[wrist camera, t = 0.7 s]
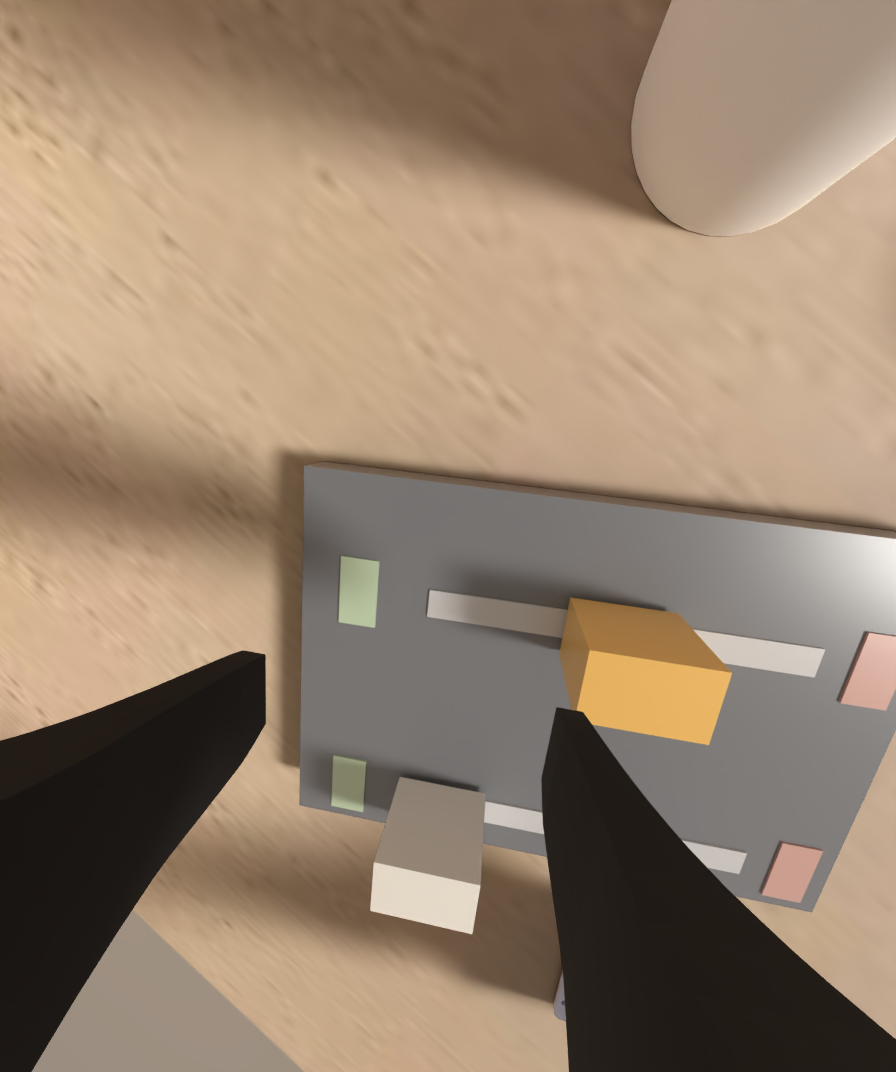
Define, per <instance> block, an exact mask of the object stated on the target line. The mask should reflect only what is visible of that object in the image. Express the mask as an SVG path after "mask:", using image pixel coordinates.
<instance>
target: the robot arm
mask: <svg viewBox="0 0 896 1072" xmlns="http://www.w3.org/2000/svg"><path fill="white" fill-rule="evenodd" d="M265 724H266V674H265V654H260V653H254V652H248V651H240V652H237V653H234V654H231V655H229V656H226V657H224V658H221V659H219V660H216V661H214V662H212V663H209V664H207V665H204V666H202V667H200V668H197V669H195V670H193V671H191V672H188V673H186V674H184V675H181V676H179V677H176V678H174V679H172V680H169V681H167V682H165V683H162V684H160V685H158V686H155V687H153V688H151V689H148V690H146V691H143V692H140V693H138V694H135V695H133V696H130V697H128V698H125V699H123V700H120V701H118V702H115V703H113V704H110V705H107V706H105V707H102V708H100V709H97V710H94V711H92V712H89V713H86V714H83V715H81V716H78V717H75V718H72V719H69V720H66V721H63V722H60V723H57V724H54V725H51V726H48V727H45V728H42V729H39V730H35V731H32V732H29V733H26V734H23V735H19V736H16V737H12V738H9V739H5V740H1V741H0V1072H31V1071H32V1070H33V1068H34V1067H35V1065H36V1063H37V1062H38V1060H39V1058H40V1057H41V1055H42V1053H43V1052H44V1050H45V1048H46V1047H47V1045H48V1043H49V1042H50V1040H51V1038H52V1037H53V1035H54V1033H55V1032H56V1030H57V1028H58V1027H59V1025H60V1023H61V1022H62V1020H63V1018H64V1017H65V1015H66V1013H67V1011H68V1010H69V1008H70V1007H71V1005H72V1003H73V1002H74V1000H75V999H76V997H77V995H78V994H79V992H80V990H81V989H82V987H83V986H84V984H85V982H86V981H87V979H88V978H89V976H90V975H91V973H92V972H93V970H94V968H95V967H96V965H97V964H98V962H99V961H100V959H101V957H102V956H103V954H104V952H105V951H106V949H107V948H108V946H109V945H110V943H111V942H112V940H113V938H114V937H115V935H116V934H117V932H118V931H119V929H120V928H121V926H122V925H123V923H124V922H125V920H126V919H127V917H128V916H129V914H130V912H131V911H132V909H133V908H134V906H135V905H136V903H137V902H138V900H139V899H140V897H141V896H142V894H143V893H144V891H145V890H146V888H147V887H148V885H149V884H150V882H151V881H152V879H153V878H154V876H155V875H156V874H157V872H158V871H159V870H160V868H161V867H162V866H163V864H164V863H165V861H166V860H167V859H168V857H169V856H170V855H171V853H172V852H173V851H174V850H175V848H176V847H177V846H178V844H179V843H180V842H181V841H182V839H183V838H184V837H185V836H186V834H187V833H188V832H189V830H190V829H191V828H192V827H193V825H194V824H195V823H196V822H197V820H198V819H199V818H200V816H201V815H202V814H203V813H204V811H205V810H206V809H207V807H208V806H209V805H210V804H211V802H212V801H213V800H214V799H215V797H216V796H217V795H218V793H219V792H220V791H221V790H222V788H223V787H224V786H225V784H226V783H227V782H228V781H229V779H230V778H231V777H232V775H233V774H234V773H235V771H236V770H237V769H238V767H239V766H240V765H241V763H242V762H243V761H244V759H245V757H246V756H247V754H248V753H249V751H250V749H251V748H252V746H253V745H254V743H255V741H256V739H257V738H258V736H259V734H260V732H261V731H262V729H263V727H264V726H265ZM541 784H542V816H543V830H544V837H545V845H546V852H547V859H548V866H549V873H550V881H551V888H552V895H553V902H554V909H555V916H556V923H557V930H558V937H559V944H560V952H561V962H562V974H561V978H560V982H559V986H558V990H557V994H556V998H555V1001H554V1014H555V1016H556V1017H557V1018H558V1019H560V1020H563V1021H566V1028H567V1044H568V1061H569V1072H896V1039H895V1038H893V1037H892V1036H891V1035H890V1034H889V1033H887V1032H886V1031H885V1030H884V1029H883V1028H881V1027H880V1026H879V1025H878V1024H877V1023H875V1022H874V1021H873V1020H872V1019H871V1018H870V1017H868V1016H867V1015H866V1014H865V1013H864V1012H863V1011H861V1010H860V1009H859V1008H858V1007H857V1006H855V1005H854V1004H853V1003H852V1002H851V1001H850V1000H848V999H847V998H846V997H845V996H844V995H843V994H841V993H840V992H839V991H838V990H837V989H835V988H834V987H833V986H832V985H831V984H830V983H828V982H827V981H826V980H825V979H824V978H823V977H822V976H820V975H819V974H818V973H817V972H816V971H815V970H814V969H813V968H811V967H810V966H809V965H808V964H807V963H806V962H805V961H804V960H802V959H801V958H800V957H799V956H798V955H797V954H796V953H795V952H793V951H792V950H791V949H790V948H789V947H788V946H787V945H786V944H785V943H784V942H783V941H782V940H781V939H779V938H778V937H777V936H776V935H775V934H774V933H773V932H772V931H771V930H770V929H769V928H768V927H767V926H766V925H765V924H764V923H762V922H761V921H760V920H759V919H758V918H757V917H756V916H755V915H754V914H753V913H752V912H751V911H750V910H749V909H748V908H747V907H746V906H745V905H744V904H742V903H741V902H740V901H739V900H738V899H737V898H736V897H735V896H734V895H733V894H732V893H731V892H730V891H729V890H728V889H727V888H726V887H725V886H724V885H723V884H722V883H721V881H720V880H719V879H718V878H717V877H716V876H715V875H714V874H713V873H712V872H711V871H710V870H709V869H708V868H707V867H706V866H705V865H704V864H703V863H702V861H701V860H700V859H699V858H698V857H697V856H696V855H695V854H694V853H693V852H692V851H691V850H690V849H689V848H688V847H687V845H686V844H685V843H684V842H683V841H682V840H681V839H680V838H679V837H678V835H677V834H676V833H675V832H674V831H673V830H672V828H671V827H670V826H669V825H668V824H667V822H666V821H665V820H664V819H663V818H662V817H661V815H660V814H659V813H658V812H657V811H656V809H655V808H654V807H653V806H652V805H651V803H650V802H649V801H648V800H647V798H646V797H645V796H644V795H643V793H642V792H641V791H640V790H639V788H638V787H637V786H636V784H635V783H634V782H633V780H632V779H631V778H630V777H629V775H628V774H627V773H626V771H625V770H624V769H623V767H622V766H621V765H620V763H619V762H618V760H617V759H616V758H615V756H614V755H613V753H612V752H611V751H610V749H609V748H608V746H607V745H606V744H605V742H604V741H603V739H602V738H601V737H600V735H599V734H598V732H597V731H596V729H595V728H594V727H593V725H592V724H591V722H590V721H589V720H588V718H587V717H586V715H585V714H584V713H583V712H581V711H575V710H570V709H564V708H559V707H556V711H555V716H554V721H553V725H552V730H551V735H550V740H549V744H548V749H547V754H546V758H545V763H544V768H543V773H542V777H541Z"/></svg>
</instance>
